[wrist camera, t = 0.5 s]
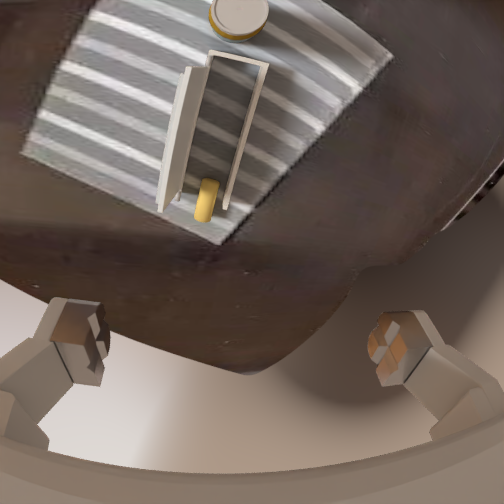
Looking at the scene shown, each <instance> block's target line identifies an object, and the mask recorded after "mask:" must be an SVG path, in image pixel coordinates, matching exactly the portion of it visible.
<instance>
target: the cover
mask: <svg viewBox="0 0 504 504" xmlns="http://www.w3.org/2000/svg"><path fill="white" fill-rule="evenodd" d="M206 70H207V67H203V66H186V70H185V73H181V74H180V78H179V82H178V86H177V90H176V95H175V99H174V104H173V108H172V113H171V118H170V122H169V127H168V132H167V137H166V143H165V148H164V153H163V159H162V165H161V171H160V177H159V183H158V189H157V196H156V203H157V204H159V205H158V212H161V213H163V211H164V210H165V209H166V207H167V206H168V204H169V203H170V202H171V200H172V199H173V198H174V196H175V195H176V194H177V192H178V191H179V189H180V183H181V178H182V173H183V168H184V163H185V158H186V154H187V149H188V144H189V140H190V135H191V131H192V127H193V122H194V118H195V114H196V110H197V105H198V101H199V97H200V93H201V89H202V86H203V82H204V78H205V74H206Z"/></svg>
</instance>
